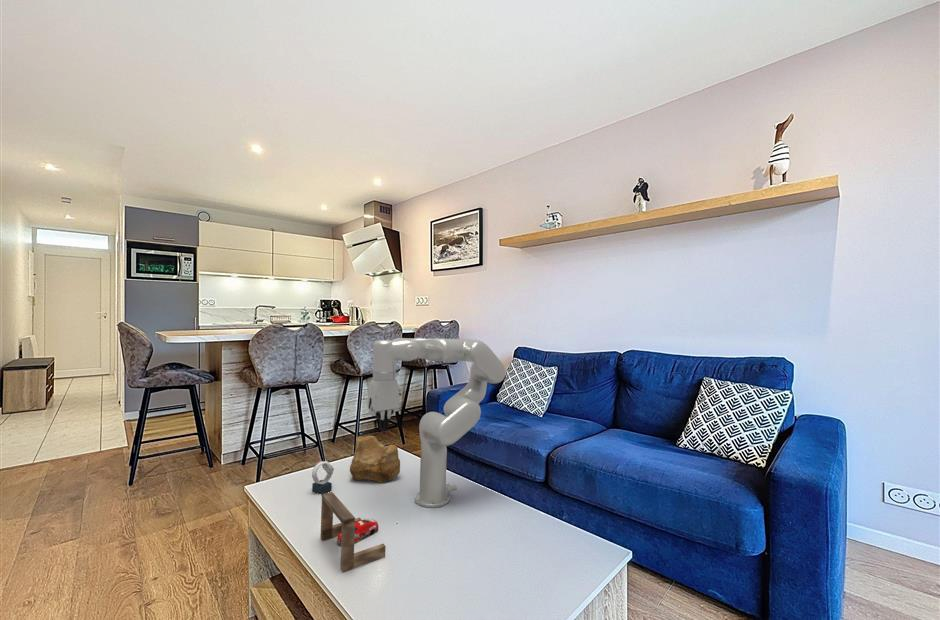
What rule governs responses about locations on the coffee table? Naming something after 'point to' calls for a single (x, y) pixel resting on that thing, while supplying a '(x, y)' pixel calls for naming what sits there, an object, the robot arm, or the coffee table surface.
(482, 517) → the coffee table surface
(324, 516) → the walnut tunnel
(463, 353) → the robot arm
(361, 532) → the race car
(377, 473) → the rough brown rock
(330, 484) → the watch
